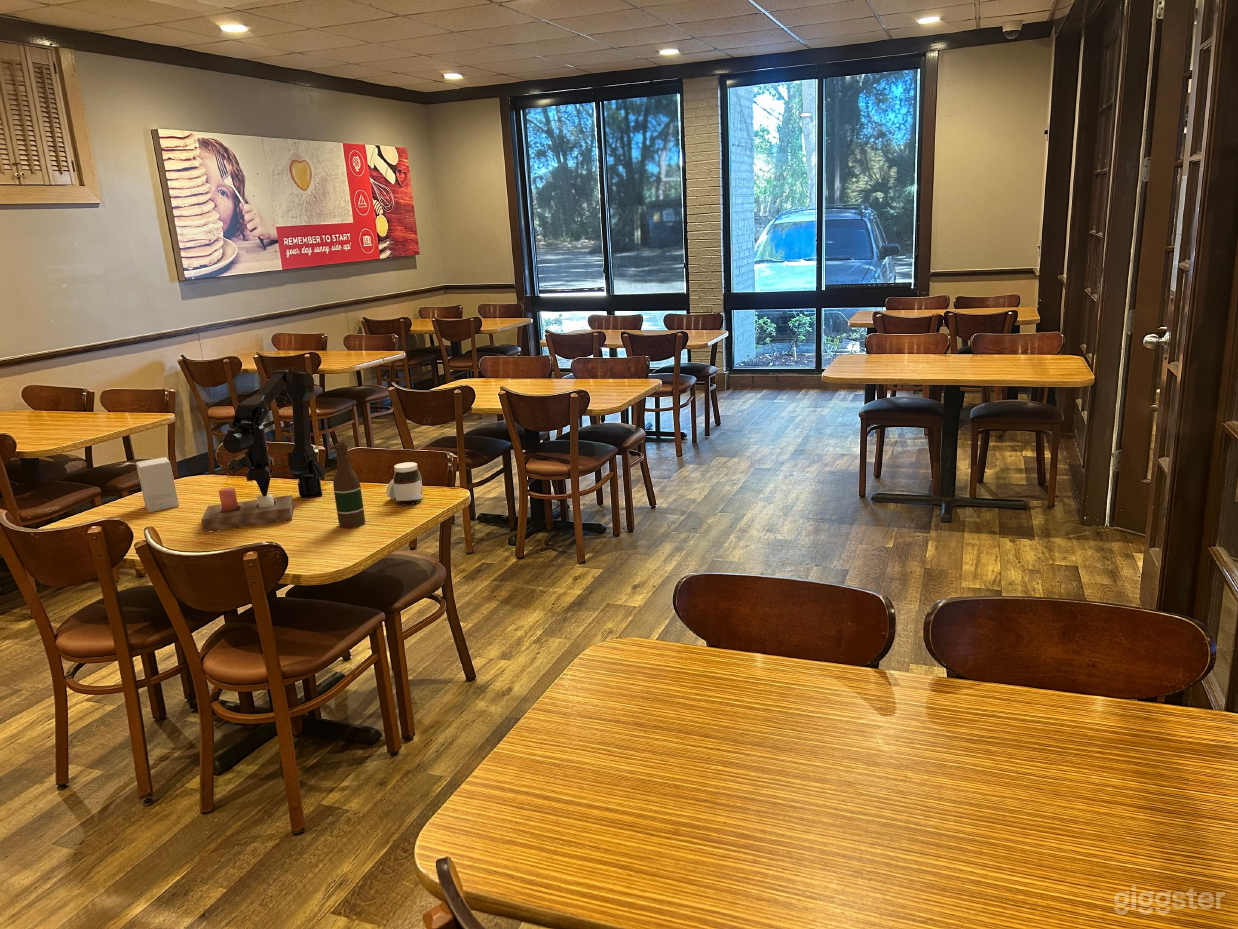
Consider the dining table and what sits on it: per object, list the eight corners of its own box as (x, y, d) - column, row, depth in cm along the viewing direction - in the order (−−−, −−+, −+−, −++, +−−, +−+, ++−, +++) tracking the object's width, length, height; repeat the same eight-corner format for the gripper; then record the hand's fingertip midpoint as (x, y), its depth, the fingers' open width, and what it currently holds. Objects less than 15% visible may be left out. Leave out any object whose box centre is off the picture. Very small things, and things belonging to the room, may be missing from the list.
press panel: (294, 507, 274) (292, 495, 273) (291, 520, 261) (289, 507, 260) (210, 518, 267) (207, 506, 266) (203, 532, 254) (201, 519, 253)
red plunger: (239, 506, 264) (235, 487, 263) (237, 510, 260) (234, 490, 259) (223, 508, 263) (219, 489, 262) (221, 512, 259) (217, 492, 258)
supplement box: (175, 500, 289) (166, 456, 285) (179, 506, 282) (171, 461, 278) (144, 506, 284) (135, 461, 281) (148, 512, 277) (138, 466, 273)
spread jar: (418, 505, 269) (414, 468, 265) (381, 507, 269) (376, 470, 266) (427, 494, 280) (423, 458, 277) (392, 496, 280) (387, 460, 277)
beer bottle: (361, 528, 250) (350, 446, 244) (334, 529, 251) (322, 447, 244) (369, 519, 258) (358, 439, 252) (343, 520, 258) (331, 440, 252)
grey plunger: (276, 511, 268) (273, 492, 266) (275, 516, 264) (272, 496, 262) (260, 513, 267) (257, 494, 265) (259, 518, 263) (256, 498, 261)
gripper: (230, 441, 266) (239, 491, 270) (222, 455, 249) (232, 508, 253) (269, 437, 269) (277, 486, 273) (265, 450, 252) (273, 503, 256)
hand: (264, 495), depth 264 cm, fingers closed, pressing on grey plunger
